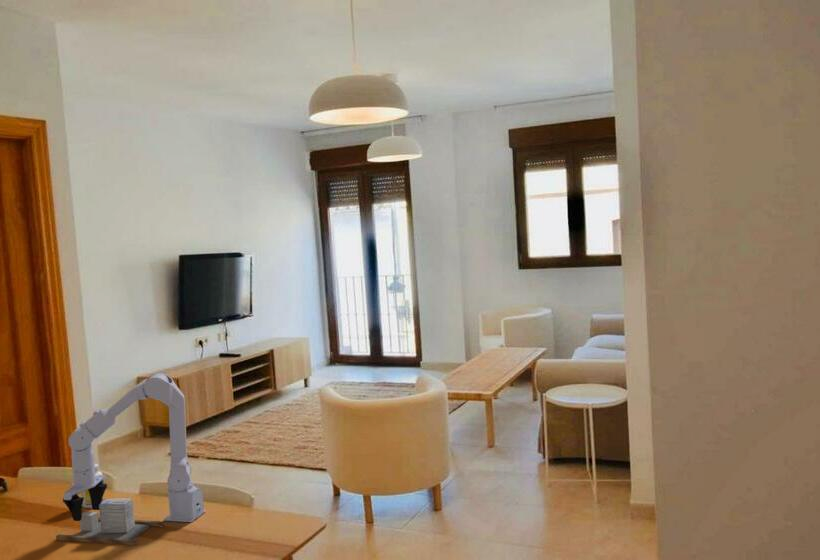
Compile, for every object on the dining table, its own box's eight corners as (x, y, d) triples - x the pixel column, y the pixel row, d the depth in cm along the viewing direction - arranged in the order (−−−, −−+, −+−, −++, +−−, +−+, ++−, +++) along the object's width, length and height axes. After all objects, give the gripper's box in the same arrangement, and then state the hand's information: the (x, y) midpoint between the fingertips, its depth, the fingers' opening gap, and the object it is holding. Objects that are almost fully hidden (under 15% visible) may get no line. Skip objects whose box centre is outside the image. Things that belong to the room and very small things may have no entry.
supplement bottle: (109, 502, 208) (106, 464, 208) (89, 510, 203) (86, 470, 202) (97, 499, 212) (94, 461, 211) (78, 506, 206) (74, 467, 206)
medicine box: (135, 526, 186) (133, 497, 186) (127, 533, 182) (124, 503, 181) (109, 527, 187) (107, 498, 186) (100, 534, 182) (98, 504, 182)
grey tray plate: (149, 527, 187) (147, 509, 187) (128, 541, 178) (127, 523, 178) (95, 524, 191) (93, 507, 191) (72, 537, 183) (71, 519, 183)
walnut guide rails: (163, 525, 188) (163, 521, 188) (135, 545, 176) (135, 541, 176) (88, 521, 194) (88, 517, 194) (56, 540, 182) (55, 535, 182)
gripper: (90, 460, 194) (93, 504, 195) (52, 477, 180) (56, 524, 180) (110, 461, 192) (113, 505, 193) (73, 478, 178) (77, 526, 179)
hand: (87, 514), depth 187 cm, fingers open, 7 cm apart
